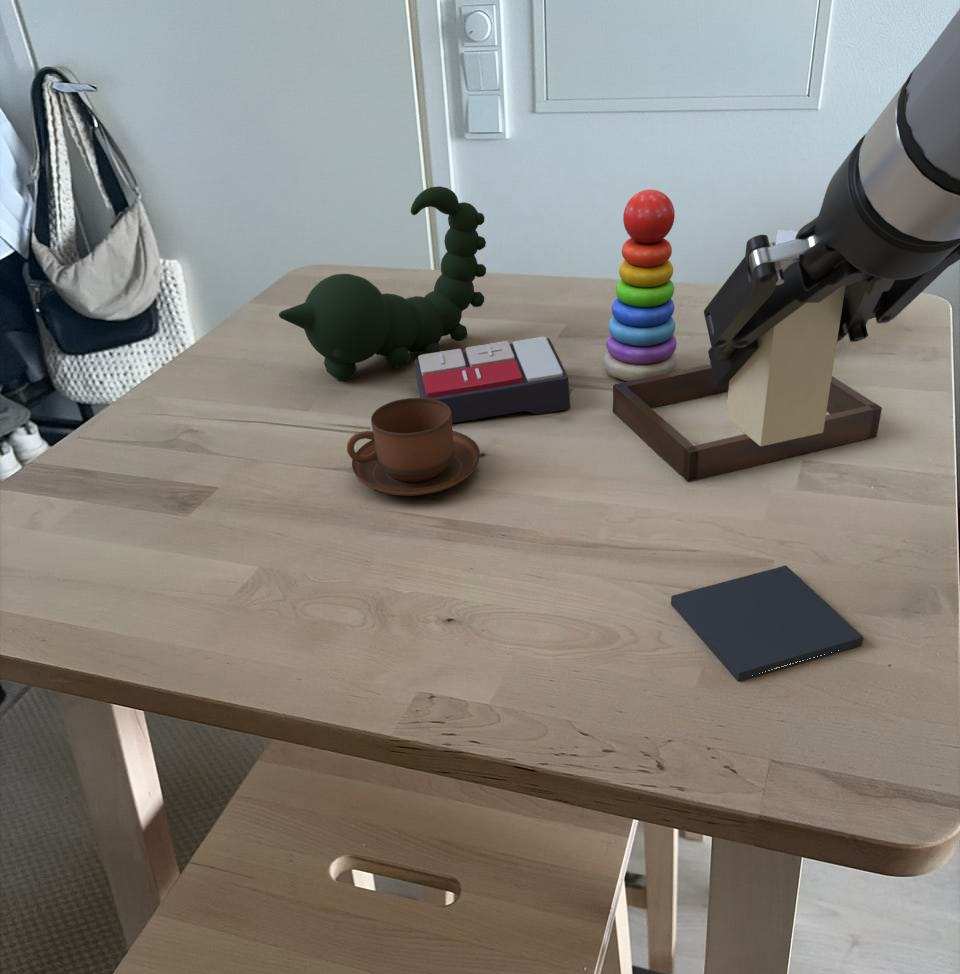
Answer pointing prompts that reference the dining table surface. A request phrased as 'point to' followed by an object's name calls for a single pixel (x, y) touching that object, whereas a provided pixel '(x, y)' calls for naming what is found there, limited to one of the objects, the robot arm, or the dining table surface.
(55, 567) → the dining table surface
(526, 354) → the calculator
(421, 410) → the cup and saucer
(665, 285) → the stacking toy
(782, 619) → the mat
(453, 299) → the toy figurine
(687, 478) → the wooden frame
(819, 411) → the block
